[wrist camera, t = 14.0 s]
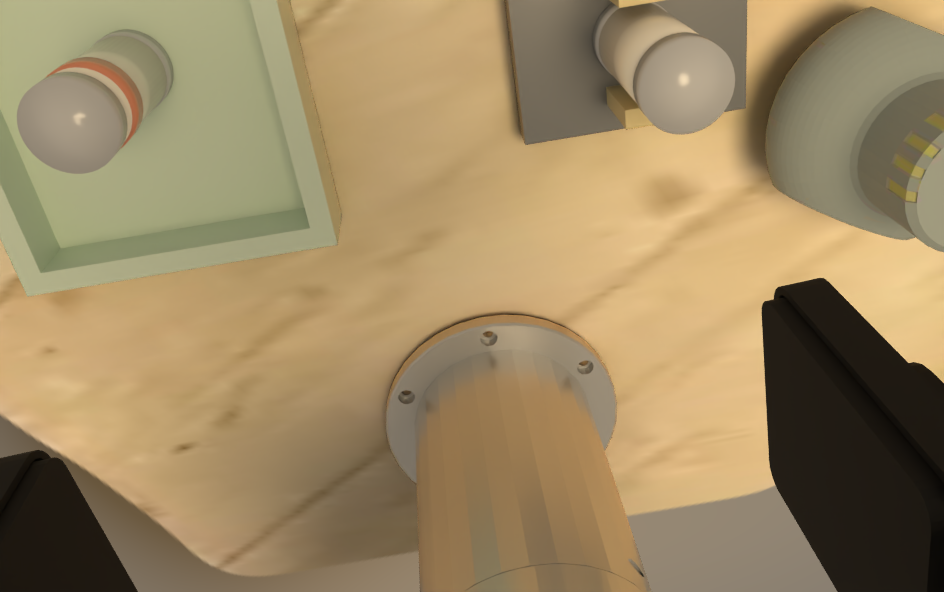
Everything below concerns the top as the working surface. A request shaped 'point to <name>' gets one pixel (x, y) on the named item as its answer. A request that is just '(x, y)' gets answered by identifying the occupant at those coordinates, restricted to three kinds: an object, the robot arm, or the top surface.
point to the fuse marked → (95, 102)
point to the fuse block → (598, 63)
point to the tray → (168, 147)
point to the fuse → (664, 66)
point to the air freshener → (865, 127)
